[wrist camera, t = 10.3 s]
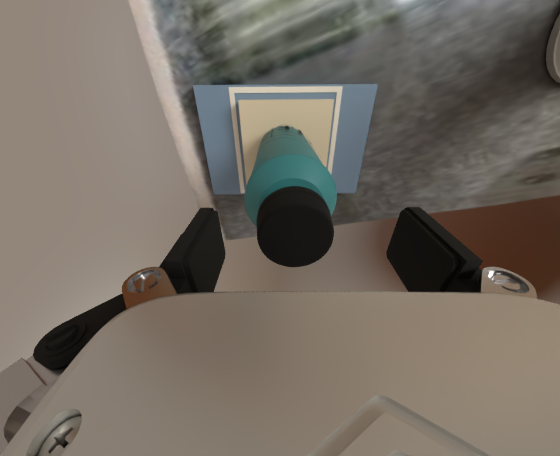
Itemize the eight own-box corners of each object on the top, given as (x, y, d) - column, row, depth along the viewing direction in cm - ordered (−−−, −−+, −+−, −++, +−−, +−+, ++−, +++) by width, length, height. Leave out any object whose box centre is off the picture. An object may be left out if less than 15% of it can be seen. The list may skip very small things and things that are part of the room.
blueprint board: (373, 84, 26) (385, 83, 23) (352, 189, 34) (359, 198, 31) (196, 85, 26) (186, 84, 23) (216, 190, 34) (210, 200, 31)
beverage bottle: (260, 175, 29) (239, 292, 12) (255, 122, 25) (215, 181, 9) (308, 173, 29) (352, 287, 12) (310, 119, 25) (376, 175, 8)
